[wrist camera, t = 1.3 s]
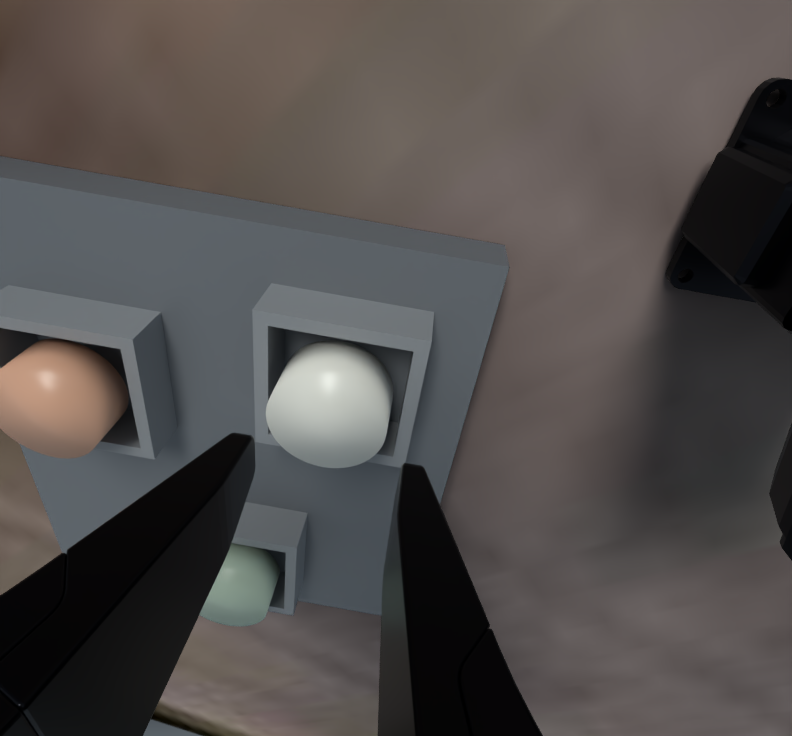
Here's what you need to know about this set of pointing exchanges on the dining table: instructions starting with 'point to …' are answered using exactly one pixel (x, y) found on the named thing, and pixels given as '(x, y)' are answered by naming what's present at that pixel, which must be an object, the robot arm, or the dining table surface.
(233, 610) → the sage button
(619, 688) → the dining table surface
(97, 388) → the terracotta button
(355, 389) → the ivory button
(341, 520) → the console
